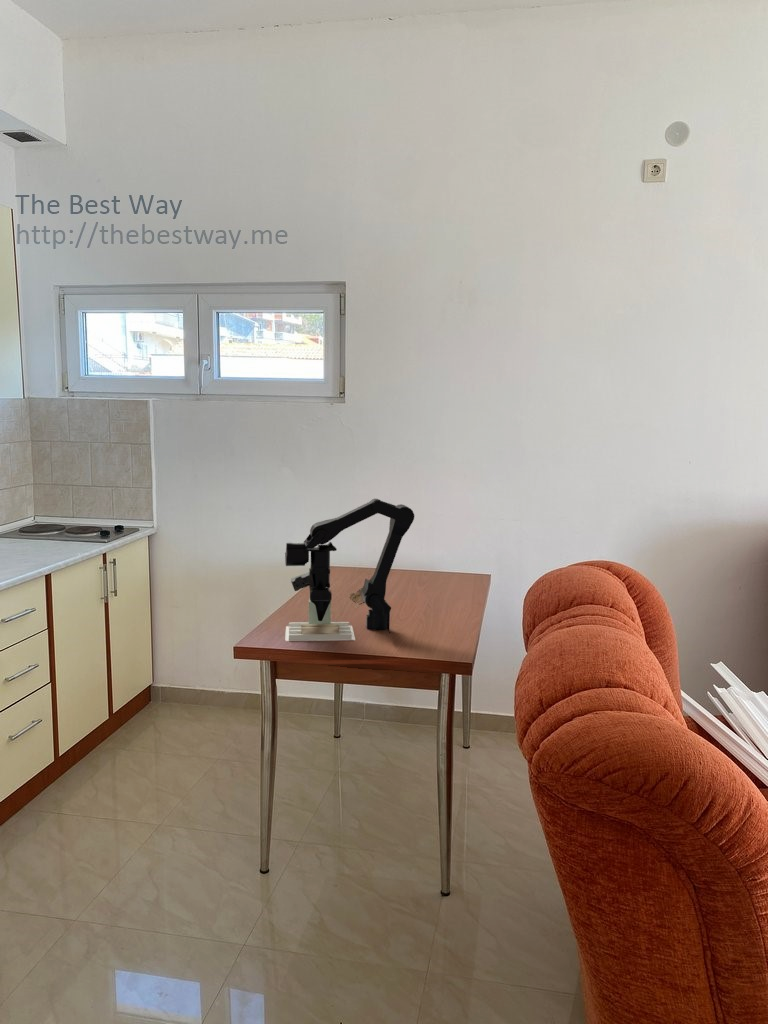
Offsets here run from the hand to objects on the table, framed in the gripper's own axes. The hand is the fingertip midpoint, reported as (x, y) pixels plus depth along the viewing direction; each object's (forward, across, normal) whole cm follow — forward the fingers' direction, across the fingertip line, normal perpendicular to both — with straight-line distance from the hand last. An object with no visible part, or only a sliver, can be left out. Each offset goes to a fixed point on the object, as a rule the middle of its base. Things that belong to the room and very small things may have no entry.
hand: (319, 616), depth 234 cm
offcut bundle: (+4, +8, 0) cm, 9 cm away
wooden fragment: (+6, -46, +18) cm, 50 cm away
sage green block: (+4, 0, 0) cm, 4 cm away
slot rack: (+5, +4, 0) cm, 6 cm away
